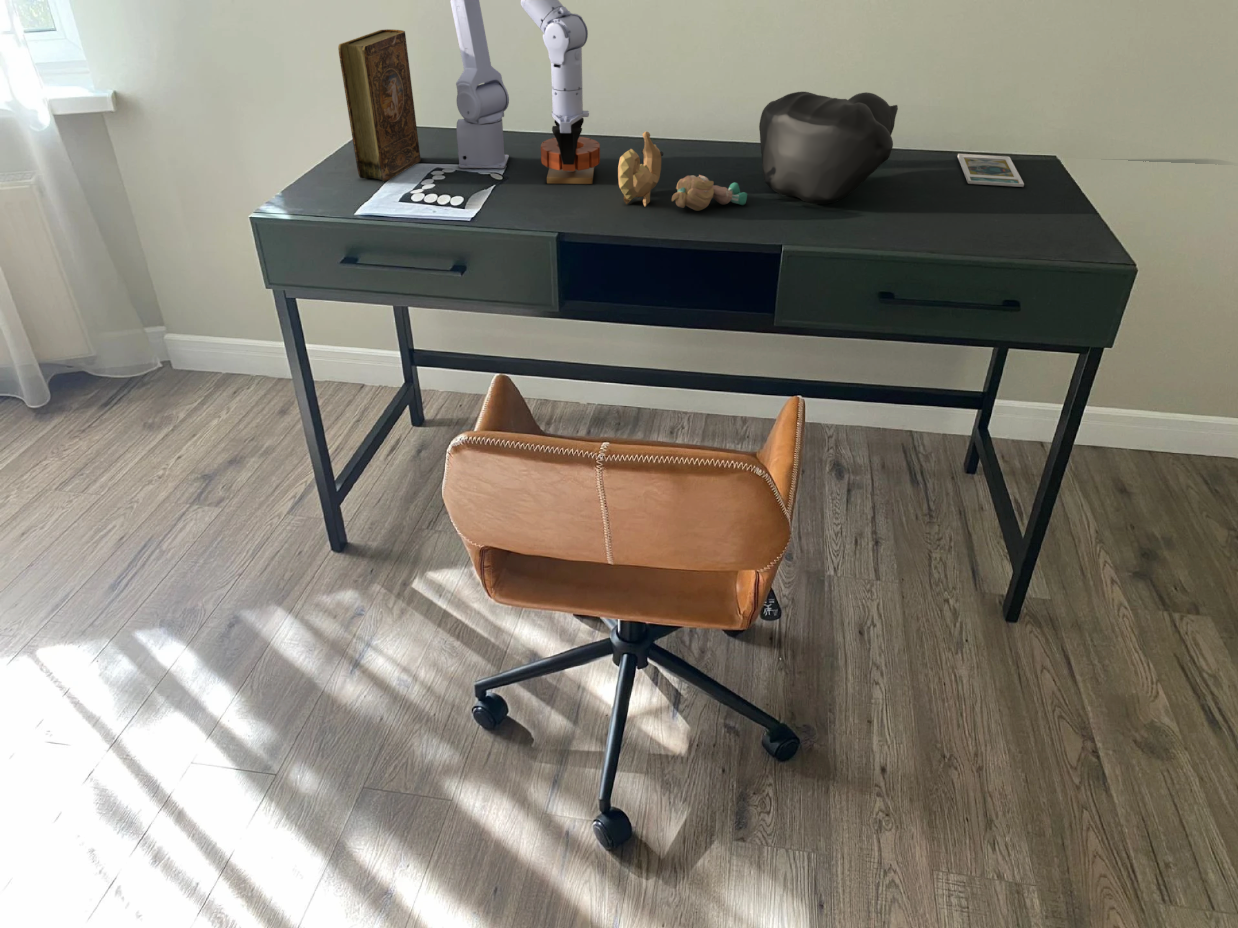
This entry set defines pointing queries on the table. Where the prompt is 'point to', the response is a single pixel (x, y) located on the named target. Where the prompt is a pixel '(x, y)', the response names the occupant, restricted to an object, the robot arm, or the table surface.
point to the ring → (584, 156)
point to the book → (380, 103)
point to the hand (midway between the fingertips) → (569, 160)
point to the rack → (570, 176)
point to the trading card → (990, 170)
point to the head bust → (824, 143)
